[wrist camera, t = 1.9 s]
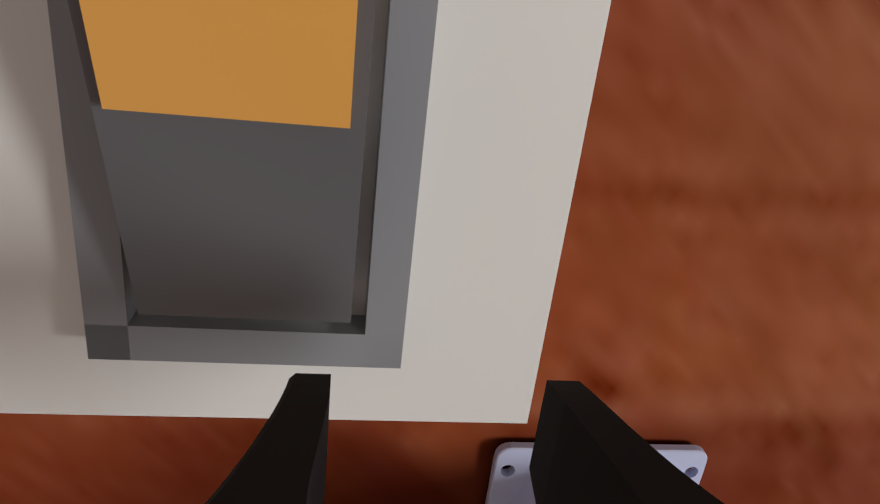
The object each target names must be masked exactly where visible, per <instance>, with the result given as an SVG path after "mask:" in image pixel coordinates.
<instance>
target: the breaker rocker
mask: <svg viewBox="0 0 880 504" xmlns="http://www.w3.org/2000/svg"><path fill="white" fill-rule="evenodd" d="M67 2H68V6H69V11H70V15H71V20H72V24H73V28H74V33H75V37H76V42H77V46H78V51H79V55H80V59H81V64H82V68H83V73H84V77H85V82H86V86H87V90H88V95H89V99H90V104H91V108H92V113H93V117H94V121H95V126H96V130H97V135H98V139H99V144H100V148H101V152H102V157H103V161H104V166H105V170H106V175H107V179H108V183H109V188H110V192H111V197H112V201H113V206H114V210H115V214H116V219H117V223H118V228H119V232H120V237H121V241H122V245H123V250H124V254H125V259H126V263H127V268H128V272H129V276H130V281H131V285H132V290H133V294H134V299H135V303H136V307H137V312H138V314H142V315H167V316H192V317H218V318H243V319H268V320H294V321H319V322H344V323H351V312H352V299H353V286H354V273H355V260H356V248H357V235H358V222H359V209H360V196H361V183H362V171H363V158H364V145H365V132H366V119H367V107H368V94H369V81H370V68H371V55H372V42H373V30H374V17H375V4H376V0H67Z"/></svg>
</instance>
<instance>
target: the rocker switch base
mask: <svg viewBox="0 0 880 504" xmlns="http://www.w3.org/2000/svg"><path fill="white" fill-rule="evenodd" d="M610 4H611V0H376V4H375V17H374V30H373V42H372V55H371V68H370V81H369V94H368V107H367V119H366V132H365V145H364V158H363V171H362V183H361V196H360V209H359V222H358V235H357V248H356V260H355V273H354V286H353V299H352V312H351V323H344V322H319V321H294V320H268V319H243V318H218V317H192V316H167V315H142V314H138V312H137V307H136V303H135V299H134V294H133V290H132V285H131V281H130V276H129V272H128V268H127V263H126V259H125V254H124V250H123V245H122V241H121V237H120V232H119V228H118V223H117V219H116V214H115V210H114V206H113V201H112V197H111V192H110V188H109V183H108V179H107V175H106V170H105V166H104V161H103V157H102V152H101V148H100V144H99V139H98V135H97V130H96V126H95V121H94V117H93V113H92V108H91V104H90V99H89V95H88V90H87V86H86V82H85V77H84V73H83V68H82V64H81V59H80V55H79V51H78V46H77V42H76V37H75V33H74V28H73V24H72V20H71V15H70V11H69V6H68V2H67V0H0V413H23V414H74V415H126V416H177V417H229V418H269V417H270V416H271V414H272V412H273V411H274V409H275V407H276V405H277V404H278V402H279V400H280V398H281V396H282V394H283V392H284V390H285V388H286V385H287V383H288V380H289V378H290V377H292V376H293V375H294V374H295V373H309V374H331V385H330V403H329V419H332V420H383V421H435V422H487V423H527V421H528V416H529V411H530V406H531V401H532V396H533V391H534V386H535V381H536V376H537V371H538V366H539V361H540V356H541V351H542V346H543V341H544V336H545V331H546V326H547V321H548V316H549V311H550V306H551V301H552V296H553V291H554V285H555V280H556V275H557V270H558V265H559V260H560V255H561V250H562V245H563V240H564V235H565V230H566V225H567V220H568V215H569V210H570V205H571V200H572V195H573V190H574V185H575V180H576V175H577V170H578V165H579V160H580V155H581V150H582V145H583V140H584V135H585V130H586V125H587V120H588V115H589V110H590V105H591V100H592V95H593V90H594V85H595V80H596V74H597V69H598V64H599V59H600V54H601V49H602V44H603V39H604V34H605V29H606V24H607V19H608V14H609V9H610Z"/></svg>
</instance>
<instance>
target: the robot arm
mask: <svg viewBox="0 0 880 504" xmlns="http://www.w3.org/2000/svg"><path fill="white" fill-rule="evenodd" d="M330 385H331V374H309V373H295V374H294V375H293V376H292V377H290V378H289V380H288V383H287V385H286V388H285V390H284V392H283V394H282V396H281V398H280V400H279V402H278V404H277V405H276V407H275V409H274V411H273V412H272V414H271V416H270V417H269V419H268V421H267V422H266V424H265V425H264V427H263V428H262V430H261V431H260V433H259V434H258V436H257V437H256V439H255V440H254V442H253V443H252V445H251V446H250V448H249V449H248V451H247V452H246V453H245V455H244V456H243V457H242V459H241V460H240V461H239V463H238V464H237V465H236V466H235V468H234V469H233V470H232V472H231V473H230V474H229V476H228V477H227V478H226V479H225V481H224V482H223V483H222V485H221V486H220V487H219V488H218V489H217V490H216V492H215V493H214V494H213V495H212V496H211V498H210V499H209V500H208V501H207V502H206V503H205V504H324V494H325V476H326V458H327V440H328V421H329V403H330ZM706 462H707V455H706V453H705V452H704V450H703V449H702V448H701V447H700V446H697V445H671V444H649V443H647V442H646V441H645V440H644V439H643V438H642V437H641V436H639V435H638V434H637V433H636V432H635V431H634V430H633V429H632V428H631V427H629V426H628V425H627V424H626V423H625V422H624V421H623V420H622V419H621V418H620V417H619V416H617V415H616V414H615V413H614V412H613V411H612V410H611V409H610V408H609V407H608V406H607V405H606V404H604V403H603V402H602V401H601V400H600V399H599V398H598V397H597V396H596V395H595V394H593V393H592V392H591V391H590V390H589V389H588V388H587V387H585V386H584V385H583V384H582V383H581V382H579V381H553V380H547V383H546V388H545V393H544V398H543V403H542V407H541V412H540V417H539V422H538V427H537V432H536V436H535V441H534V442H507V443H503V444H501V445H499V446H498V447H497V448H496V450H495V452H494V457H493V463H492V469H491V474H490V480H489V485H488V491H487V496H486V502H485V504H724V503H722V502H721V501H720V500H718V499H717V498H715V497H714V496H713V495H711V494H710V493H709V492H707V491H706V490H705V489H703V488H702V487H701V486H700V485H699V483H700V480H701V477H702V474H703V471H704V468H705V465H706ZM506 465H511V467H509V468H506V469H503V468H502V467H504V466H506ZM690 467H692V468H691V469H689V470H687V469H688V468H690Z"/></svg>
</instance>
